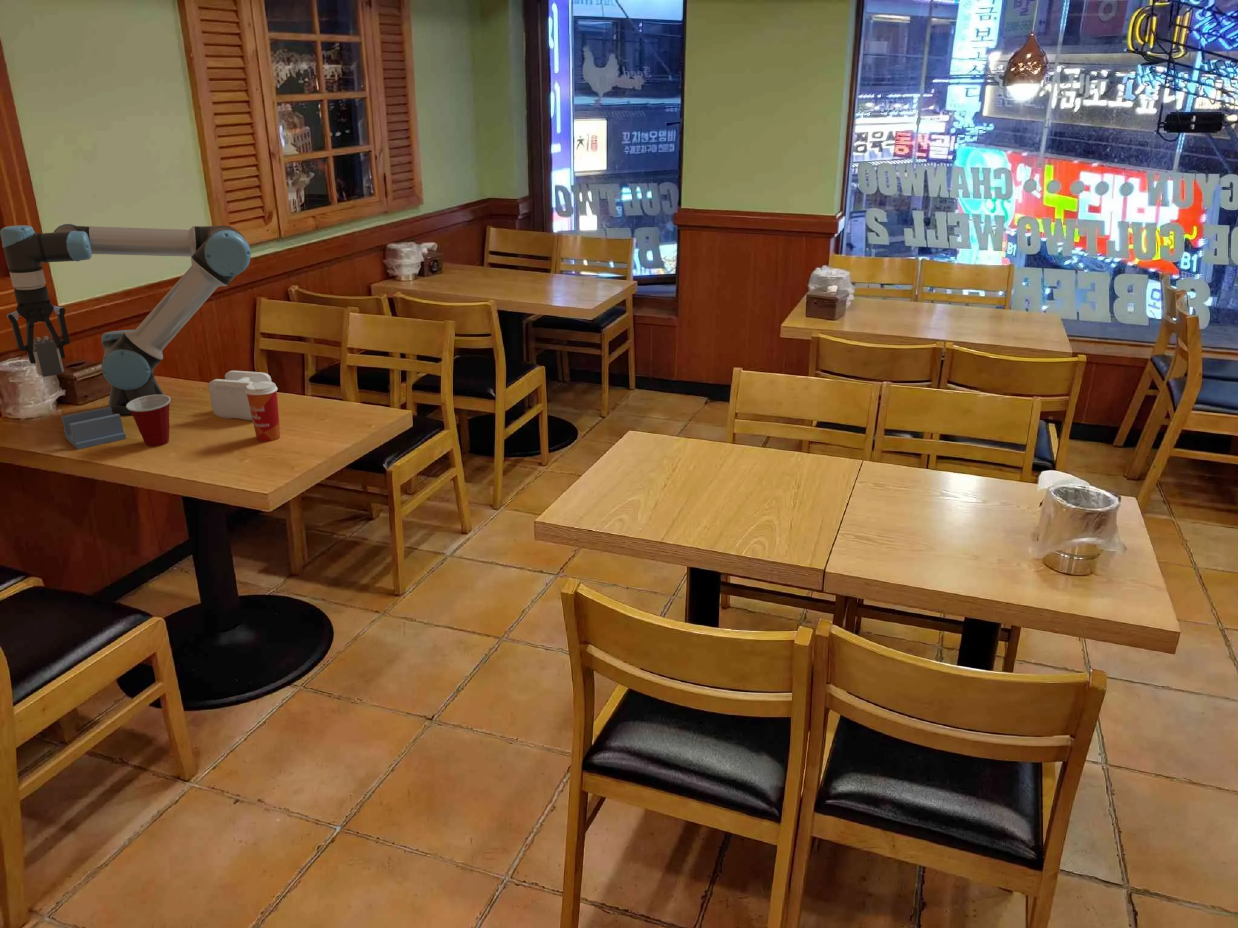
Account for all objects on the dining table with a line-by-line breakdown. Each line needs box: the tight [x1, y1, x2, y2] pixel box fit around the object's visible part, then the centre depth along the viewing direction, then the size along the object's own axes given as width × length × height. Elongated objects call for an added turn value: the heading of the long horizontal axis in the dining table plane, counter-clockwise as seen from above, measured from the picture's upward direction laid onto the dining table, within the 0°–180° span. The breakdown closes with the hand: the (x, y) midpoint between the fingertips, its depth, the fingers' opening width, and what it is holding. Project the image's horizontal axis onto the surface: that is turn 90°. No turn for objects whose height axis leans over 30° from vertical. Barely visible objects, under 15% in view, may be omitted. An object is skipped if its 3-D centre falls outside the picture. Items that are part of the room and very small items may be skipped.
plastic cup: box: [126, 394, 172, 447], centre depth 245 cm, size 11×11×12 cm
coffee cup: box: [245, 381, 281, 442], centre depth 248 cm, size 8×8×15 cm
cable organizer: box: [208, 370, 273, 421], centre depth 266 cm, size 15×11×12 cm
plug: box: [33, 335, 63, 378], centre depth 248 cm, size 4×4×10 cm
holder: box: [61, 405, 127, 450], centre depth 249 cm, size 12×12×6 cm
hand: (50, 372), depth 250 cm, fingers closed on plug, 4 cm apart
